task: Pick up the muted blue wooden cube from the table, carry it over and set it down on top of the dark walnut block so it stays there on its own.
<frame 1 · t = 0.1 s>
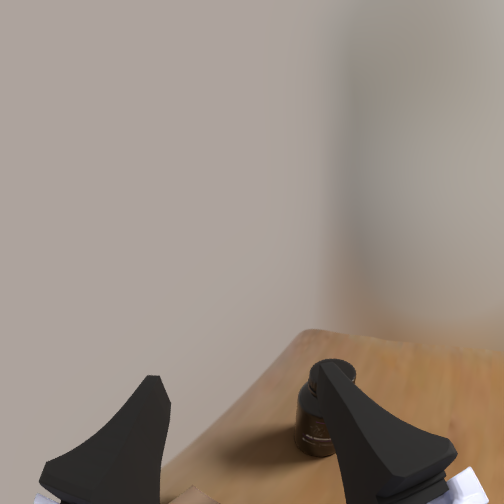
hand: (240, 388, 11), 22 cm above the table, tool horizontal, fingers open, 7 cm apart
supplement bottle: (321, 438, 28), on the table
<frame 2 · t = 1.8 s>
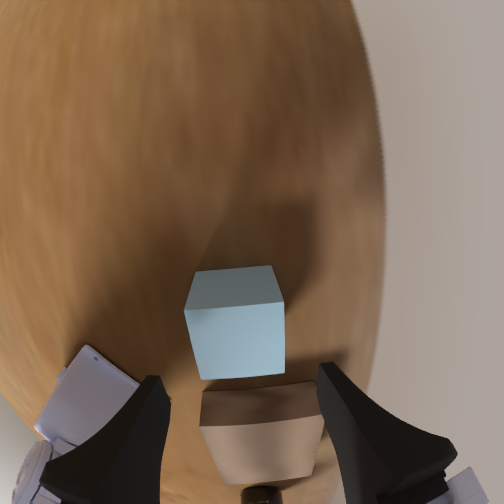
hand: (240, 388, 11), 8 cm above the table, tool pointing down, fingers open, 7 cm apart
blue cube: (236, 301, 19), on the table
walnut block: (262, 428, 24), on the table
supplement bottle: (260, 490, 32), on the table
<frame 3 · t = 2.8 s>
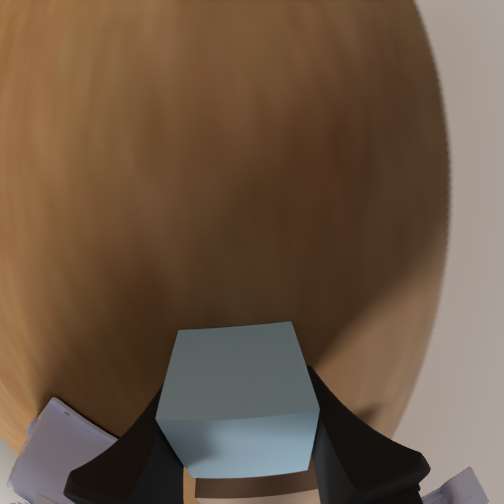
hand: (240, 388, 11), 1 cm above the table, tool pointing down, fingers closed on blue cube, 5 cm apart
blue cube: (239, 367, 12), on the table, touching gripper
walnut block: (269, 480, 18), on the table
when the fingers open (7 cm above the table, at t = 6.0 s): blue cube drops 1 cm, resting on walnut block.
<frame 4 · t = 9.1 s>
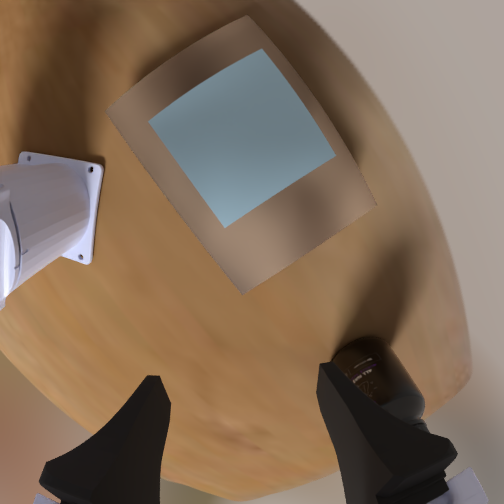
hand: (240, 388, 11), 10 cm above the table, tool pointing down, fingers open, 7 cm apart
blue cube: (240, 142, 14), point 4 cm above the table, touching walnut block
walnut block: (242, 150, 18), on the table
supplement bottle: (358, 359, 25), on the table
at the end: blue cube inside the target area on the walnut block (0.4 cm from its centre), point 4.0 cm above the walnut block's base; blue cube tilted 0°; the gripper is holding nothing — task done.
